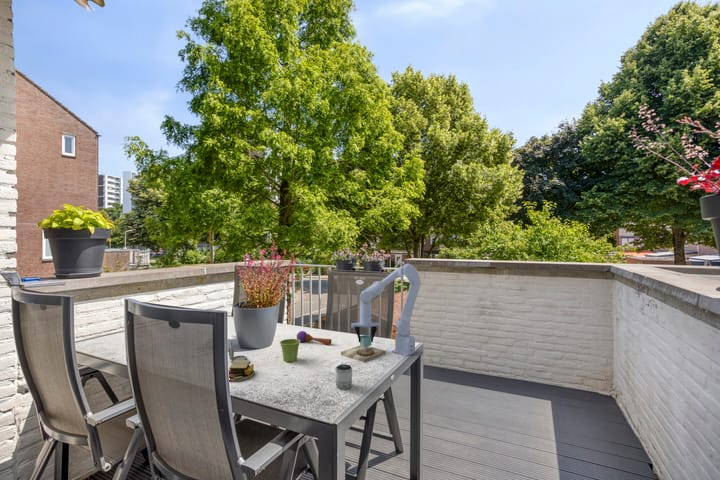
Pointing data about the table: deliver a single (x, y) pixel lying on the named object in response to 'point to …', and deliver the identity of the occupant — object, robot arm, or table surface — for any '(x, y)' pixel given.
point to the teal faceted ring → (365, 340)
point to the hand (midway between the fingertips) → (365, 341)
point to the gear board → (363, 353)
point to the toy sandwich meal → (240, 370)
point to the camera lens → (343, 376)
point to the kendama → (311, 338)
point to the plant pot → (290, 349)
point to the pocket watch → (231, 354)
